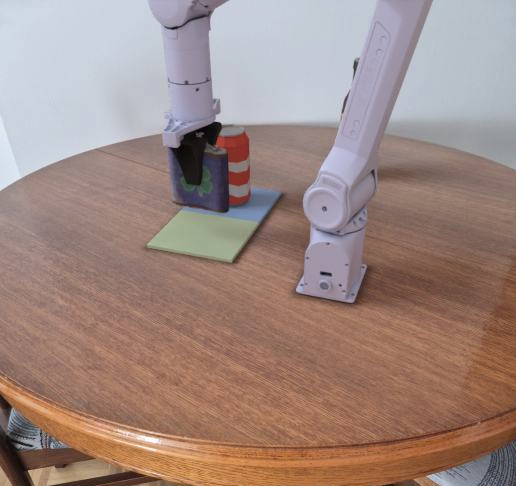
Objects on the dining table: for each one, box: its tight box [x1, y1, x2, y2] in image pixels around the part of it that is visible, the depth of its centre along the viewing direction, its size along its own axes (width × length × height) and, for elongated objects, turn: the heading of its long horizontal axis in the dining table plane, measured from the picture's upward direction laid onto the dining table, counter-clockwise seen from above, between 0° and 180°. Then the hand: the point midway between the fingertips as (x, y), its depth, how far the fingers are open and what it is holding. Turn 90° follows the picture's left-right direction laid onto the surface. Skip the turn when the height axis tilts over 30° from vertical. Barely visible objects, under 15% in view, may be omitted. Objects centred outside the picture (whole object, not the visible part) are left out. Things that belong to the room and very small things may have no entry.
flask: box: [166, 132, 230, 214], centre depth 78 cm, size 9×3×11 cm, turn 70°
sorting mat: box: [146, 186, 283, 264], centre depth 90 cm, size 24×14×1 cm, turn 160°
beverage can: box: [215, 123, 251, 206], centre depth 90 cm, size 6×6×12 cm
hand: (198, 179), depth 79 cm, fingers closed on flask, 3 cm apart
